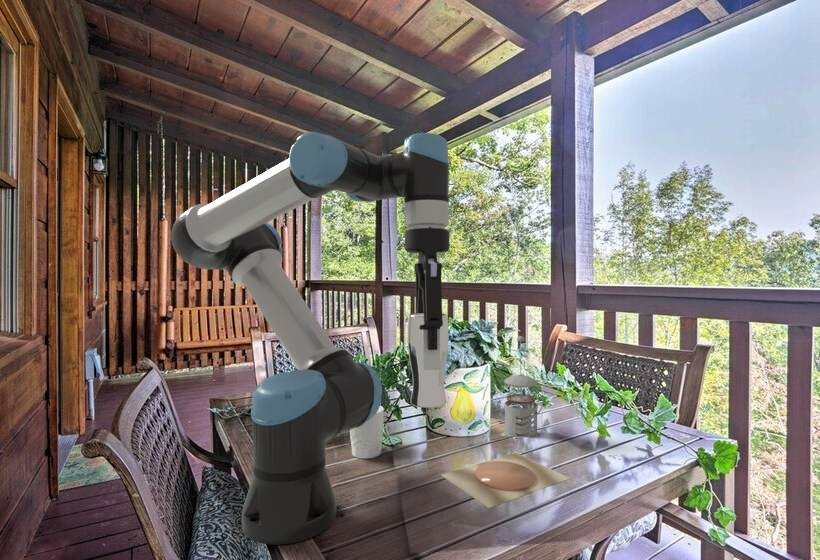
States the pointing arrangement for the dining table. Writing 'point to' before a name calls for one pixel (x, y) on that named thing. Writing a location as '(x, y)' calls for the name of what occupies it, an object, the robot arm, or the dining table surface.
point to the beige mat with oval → (494, 497)
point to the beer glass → (425, 382)
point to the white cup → (368, 437)
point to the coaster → (505, 475)
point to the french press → (525, 401)
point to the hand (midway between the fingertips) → (428, 364)
